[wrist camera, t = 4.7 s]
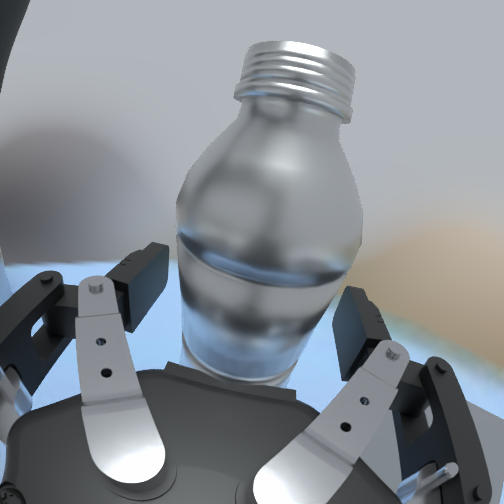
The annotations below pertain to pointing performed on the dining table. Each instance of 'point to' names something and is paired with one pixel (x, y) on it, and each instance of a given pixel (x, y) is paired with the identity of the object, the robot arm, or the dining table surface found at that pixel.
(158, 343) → the dining table surface
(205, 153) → the plastic bottle
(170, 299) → the dining table surface
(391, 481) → the slate tile
